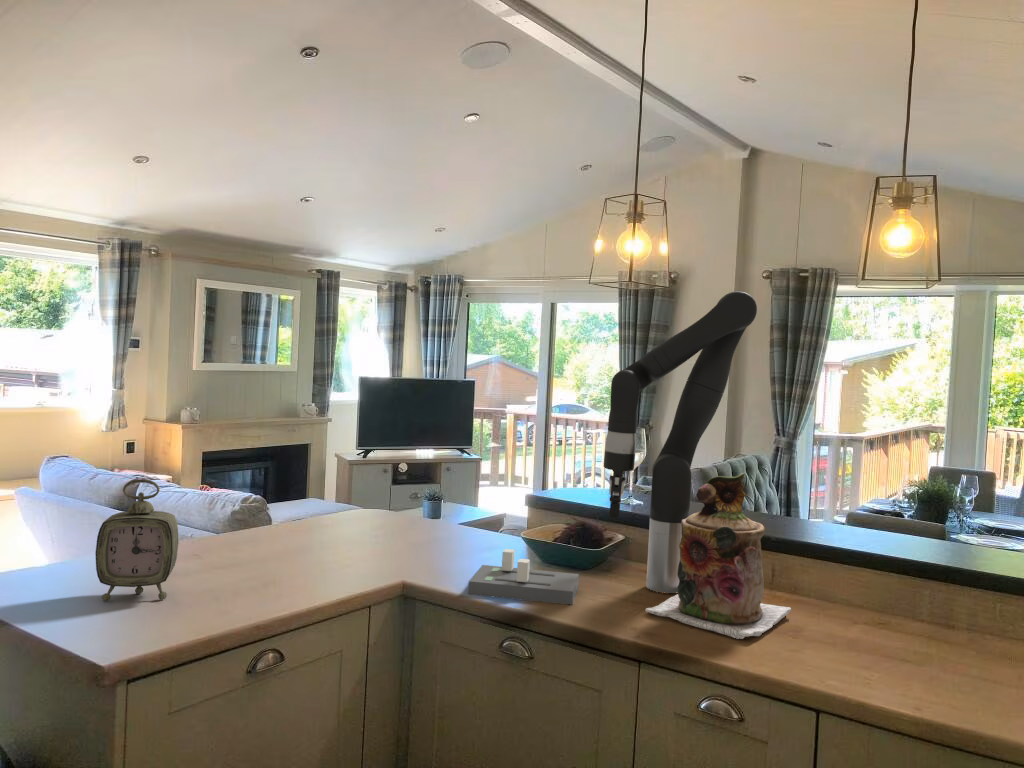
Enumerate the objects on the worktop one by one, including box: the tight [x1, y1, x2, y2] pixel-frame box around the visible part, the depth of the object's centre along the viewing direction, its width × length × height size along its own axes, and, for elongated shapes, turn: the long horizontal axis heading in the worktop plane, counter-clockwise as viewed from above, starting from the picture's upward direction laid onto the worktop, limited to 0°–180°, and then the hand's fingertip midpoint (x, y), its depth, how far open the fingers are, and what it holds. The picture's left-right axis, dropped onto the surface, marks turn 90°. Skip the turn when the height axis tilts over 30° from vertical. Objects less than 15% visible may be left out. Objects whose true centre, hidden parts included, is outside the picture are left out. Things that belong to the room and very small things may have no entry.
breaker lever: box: [501, 548, 515, 571], centre depth 181 cm, size 2×3×4 cm
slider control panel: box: [467, 564, 580, 606], centre depth 176 cm, size 24×15×3 cm, turn 80°
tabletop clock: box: [95, 478, 179, 602], centre depth 157 cm, size 14×9×25 cm, turn 105°
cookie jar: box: [645, 472, 792, 640], centre depth 164 cm, size 25×25×32 cm
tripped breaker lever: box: [516, 558, 531, 582], centre depth 172 cm, size 2×3×4 cm
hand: (614, 515), depth 185 cm, fingers open, 8 cm apart
